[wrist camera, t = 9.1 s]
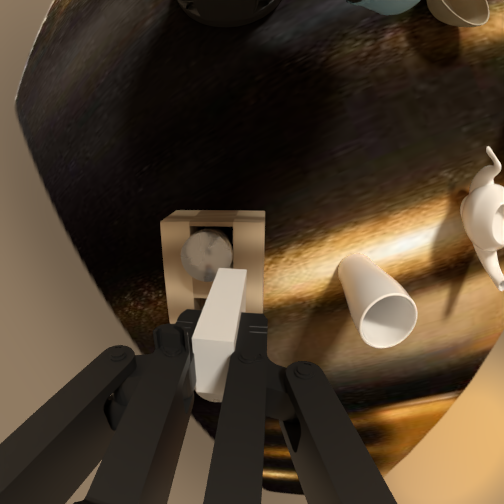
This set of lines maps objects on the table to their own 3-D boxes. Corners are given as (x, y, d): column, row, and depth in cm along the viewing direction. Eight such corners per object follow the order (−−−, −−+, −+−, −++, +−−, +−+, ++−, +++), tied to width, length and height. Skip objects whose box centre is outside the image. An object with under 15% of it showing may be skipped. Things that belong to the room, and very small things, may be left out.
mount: (176, 210, 42) (160, 221, 36) (265, 210, 42) (264, 222, 35) (188, 355, 50) (178, 382, 43) (261, 359, 49) (260, 388, 43)
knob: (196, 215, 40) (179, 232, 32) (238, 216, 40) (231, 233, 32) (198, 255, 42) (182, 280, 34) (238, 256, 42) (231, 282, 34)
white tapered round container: (443, 45, 32) (467, 33, 25) (401, -6, 30) (419, -25, 23) (475, 26, 30) (499, 15, 23) (437, -22, 28) (457, -39, 21)
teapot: (485, 142, 36) (523, 145, 27) (491, 261, 42) (523, 282, 33) (439, 147, 37) (475, 149, 29) (448, 275, 43) (478, 300, 34)
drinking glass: (336, 295, 45) (361, 356, 31) (328, 253, 43) (354, 302, 29) (378, 284, 44) (418, 339, 30) (373, 241, 42) (417, 284, 28)
